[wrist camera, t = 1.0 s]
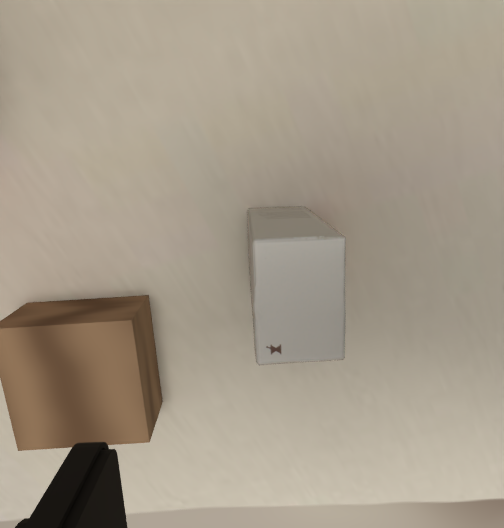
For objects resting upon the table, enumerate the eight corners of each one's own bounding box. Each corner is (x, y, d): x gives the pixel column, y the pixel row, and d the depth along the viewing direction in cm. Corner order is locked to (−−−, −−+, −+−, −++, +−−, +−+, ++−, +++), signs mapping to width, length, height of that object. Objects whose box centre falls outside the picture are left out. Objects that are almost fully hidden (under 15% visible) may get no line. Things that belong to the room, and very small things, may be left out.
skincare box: (307, 285, 31) (346, 364, 19) (250, 287, 31) (253, 369, 19) (307, 202, 29) (349, 235, 17) (246, 205, 29) (248, 239, 17)
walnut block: (149, 294, 31) (131, 320, 26) (163, 400, 33) (149, 442, 28) (28, 301, 31) (-12, 329, 26) (51, 407, 33) (18, 450, 28)
